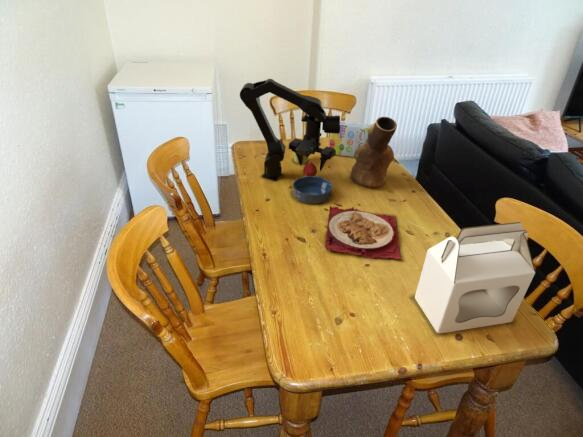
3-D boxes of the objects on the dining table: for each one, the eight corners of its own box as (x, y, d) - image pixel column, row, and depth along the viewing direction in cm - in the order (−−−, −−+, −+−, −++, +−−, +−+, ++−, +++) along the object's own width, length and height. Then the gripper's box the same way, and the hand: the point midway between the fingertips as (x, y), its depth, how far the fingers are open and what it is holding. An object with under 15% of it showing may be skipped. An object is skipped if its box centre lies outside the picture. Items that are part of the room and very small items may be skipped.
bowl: (285, 197, 158) (285, 188, 156) (304, 181, 169) (304, 172, 167) (320, 208, 152) (321, 199, 150) (337, 191, 163) (338, 182, 161)
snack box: (374, 155, 192) (379, 124, 184) (373, 160, 188) (378, 129, 179) (329, 149, 196) (332, 119, 188) (328, 154, 192) (330, 123, 183)
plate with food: (324, 253, 131) (325, 245, 129) (329, 209, 151) (330, 201, 149) (399, 263, 128) (402, 254, 126) (394, 216, 149) (396, 208, 147)
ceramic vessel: (383, 171, 179) (395, 103, 162) (395, 197, 161) (410, 124, 144) (347, 171, 178) (355, 102, 161) (355, 196, 160) (365, 123, 143)
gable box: (436, 334, 104) (466, 247, 89) (413, 297, 115) (435, 214, 99) (513, 322, 109) (553, 237, 93) (483, 288, 119) (516, 206, 104)
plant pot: (311, 166, 181) (312, 148, 176) (290, 165, 181) (290, 147, 176) (311, 157, 189) (312, 139, 184) (290, 156, 189) (291, 138, 184)
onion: (301, 175, 174) (302, 157, 169) (315, 174, 174) (316, 157, 170) (303, 181, 169) (304, 164, 164) (317, 181, 169) (318, 164, 165)
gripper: (281, 133, 158) (281, 169, 167) (325, 144, 150) (322, 181, 159) (296, 124, 166) (294, 159, 175) (337, 134, 159) (334, 170, 167)
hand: (310, 167), depth 169 cm, fingers open, 9 cm apart
